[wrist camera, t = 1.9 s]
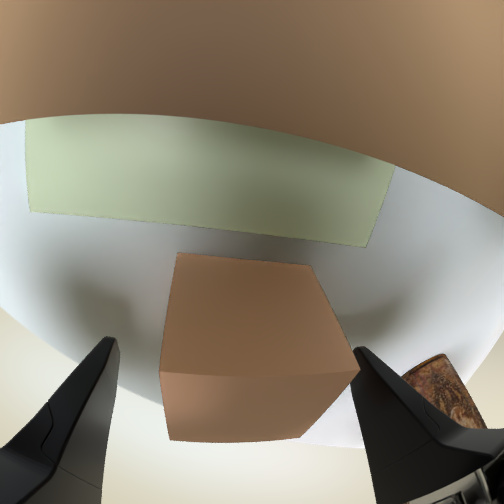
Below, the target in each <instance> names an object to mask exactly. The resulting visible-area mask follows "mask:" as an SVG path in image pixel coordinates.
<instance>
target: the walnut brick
mask: <svg viewBox="0 0 504 504" xmlns="http://www.w3.org/2000/svg"><path fill="white" fill-rule="evenodd" d="M85 114H146V115H164V116H177V117H188V118H198V119H207V120H214V121H222V122H229V123H235V124H241V125H247V126H253V127H259V128H264V129H269V130H274V131H279V132H283V133H288V134H292V135H296V136H301V137H305V138H309V139H313V140H317V141H320V142H324V143H328V144H331V145H335V146H338V147H342V148H345V149H348V150H352V151H355V152H358V153H361V154H364V155H367V156H370V157H373V158H376V159H379V160H382V161H385V162H387V163H390V164H393V165H396V166H398V167H401V168H403V169H406V170H408V171H411V172H413V173H416V174H418V175H421V176H423V177H425V178H428V179H430V180H432V181H435V182H437V183H439V184H441V185H444V186H446V187H448V188H450V189H452V190H454V191H456V192H458V193H460V194H462V195H464V196H466V197H468V198H470V199H472V200H474V201H476V202H478V203H480V204H482V205H483V206H485V207H487V208H489V209H491V210H492V211H494V212H496V213H498V214H499V215H501V216H503V217H504V0H0V124H5V123H10V122H16V121H22V120H29V119H37V118H45V117H55V116H68V115H85Z"/></svg>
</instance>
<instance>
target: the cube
mask: <svg viewBox="0 0 504 504" xmlns="http://www.w3.org/2000/svg"><path fill="white" fill-rule="evenodd" d="M360 370H361V369H360V367H359V365H358V363H357V360H356V358H355V356H354V354H353V352H352V349H351V347H350V345H349V343H348V341H347V339H346V337H345V335H344V332H343V330H342V328H341V326H340V324H339V322H338V320H337V318H336V316H335V314H334V312H333V310H332V308H331V306H330V304H329V302H328V300H327V298H326V296H325V294H324V292H323V290H322V288H321V286H320V284H319V282H318V280H317V278H316V276H315V274H314V272H313V270H312V268H311V266H310V265H299V264H289V263H278V262H268V261H257V260H247V259H237V258H227V257H217V256H207V255H197V254H187V253H177V258H176V263H175V268H174V274H173V279H172V284H171V290H170V296H169V302H168V308H167V314H166V321H165V327H164V334H163V342H162V349H161V357H160V366H159V377H160V384H161V392H162V398H163V405H164V411H165V417H166V423H167V428H168V434H169V438H170V440H174V441H187V442H210V443H234V442H235V443H236V442H237V443H238V442H260V441H273V440H283V439H292V438H300V437H301V436H302V435H303V434H304V433H305V432H306V431H307V430H308V429H309V428H310V427H311V426H312V425H313V424H314V423H315V422H316V421H317V420H318V419H319V418H320V417H321V415H322V414H323V413H324V412H325V411H326V410H327V409H328V408H329V407H330V406H331V404H332V403H333V402H334V401H335V400H336V399H337V398H338V397H339V395H340V394H341V393H342V392H343V391H344V389H345V388H346V387H347V386H348V385H349V383H350V382H351V381H352V380H353V378H354V377H355V376H356V375H357V373H358V372H359V371H360Z"/></svg>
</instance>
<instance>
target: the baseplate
mask: <svg viewBox="0 0 504 504" xmlns="http://www.w3.org/2000/svg"><path fill="white" fill-rule="evenodd" d="M25 161H26V179H27V191H28V200H29V208H30V212H39V213H53V214H65V215H78V216H90V217H101V218H113V219H124V220H134V221H145V222H155V223H165V224H175V225H184V226H194V227H203V228H212V229H221V230H230V231H238V232H247V233H255V234H264V235H272V236H280V237H288V238H296V239H304V240H312V241H319V242H327V243H334V244H342V245H349V246H356V247H363V248H366V245H367V243H368V241H369V238H370V236H371V233H372V231H373V228H374V226H375V223H376V220H377V218H378V215H379V212H380V210H381V207H382V204H383V202H384V199H385V196H386V193H387V190H388V187H389V184H390V181H391V178H392V175H393V172H394V169H395V166H396V165H393V164H390V163H387V162H385V161H382V160H379V159H376V158H373V157H370V156H367V155H364V154H361V153H358V152H355V151H352V150H348V149H345V148H342V147H338V146H335V145H331V144H328V143H324V142H320V141H317V140H313V139H309V138H305V137H301V136H296V135H292V134H288V133H283V132H279V131H274V130H269V129H264V128H259V127H253V126H247V125H241V124H235V123H229V122H222V121H214V120H207V119H198V118H188V117H177V116H164V115H146V114H85V115H68V116H55V117H45V118H37V119H29V120H26V126H25Z"/></svg>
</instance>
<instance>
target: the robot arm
mask: <svg viewBox="0 0 504 504" xmlns="http://www.w3.org/2000/svg"><path fill="white" fill-rule="evenodd" d="M353 354H354V356H355V358H356V360H357V363H358V365H359V367H360V369H361V370H360V371H359V372H358V373H357V375H356V376H355V377H354V378H353V380H352V381H351V382H350V386H351V392H352V397H353V401H354V405H355V409H356V413H357V416H358V420H359V424H360V428H361V432H362V437H363V441H364V445H365V449H366V453H367V458H368V462H369V467H370V472H371V474H372V475H371V476H372V482H373V487H374V492H375V497H376V503H377V504H404V503H407V502H409V504H504V428H503V429H478V428H467V427H464V426H462V425H460V424H458V423H457V422H456V421H454V420H453V419H451V418H450V417H449V416H447V415H446V414H444V413H443V412H442V411H440V410H439V409H438V408H436V407H435V406H434V405H433V404H432V403H430V402H429V401H428V400H427V399H426V398H425V397H423V396H422V395H421V394H420V393H419V392H418V391H416V390H415V389H414V388H413V387H412V386H411V385H409V384H408V383H407V382H406V381H405V380H404V379H402V378H401V377H400V376H399V375H398V374H397V373H396V372H394V371H393V370H392V369H391V368H390V367H389V366H387V365H386V364H385V363H384V362H383V361H382V360H381V359H379V358H378V357H377V356H376V355H375V354H374V353H372V352H371V351H370V350H369V349H368V348H367V347H365V346H360V347H356V348H355V349H354V350H353ZM119 361H120V351H119V347H118V343H117V340H116V338H114V337H108V336H106V337H104V338H103V339H102V340H101V341H100V342H99V343H98V344H97V345H96V346H95V347H94V348H93V350H92V351H91V352H90V353H89V354H88V355H87V356H86V357H85V358H84V360H83V361H82V362H81V363H80V364H79V365H78V366H77V367H76V369H75V370H74V371H73V372H72V373H71V374H70V376H68V378H67V379H66V380H65V381H64V382H63V383H62V384H61V386H60V387H59V388H58V389H57V390H56V392H55V393H54V394H53V395H52V396H51V398H50V399H49V400H48V402H46V403H45V404H44V406H43V407H42V408H41V409H40V410H39V412H38V413H37V414H36V415H35V416H34V417H33V418H32V419H31V420H30V421H29V422H28V424H26V426H25V427H23V428H22V429H21V430H20V431H19V432H18V433H17V434H16V435H15V436H14V437H13V438H12V439H11V440H10V441H9V442H8V443H7V444H6V445H5V446H3V447H2V448H0V504H101V497H102V490H101V489H102V483H103V473H104V464H105V456H106V449H107V441H108V436H109V429H110V424H111V418H112V413H113V407H114V403H115V397H116V390H117V379H118V370H119Z"/></svg>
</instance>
